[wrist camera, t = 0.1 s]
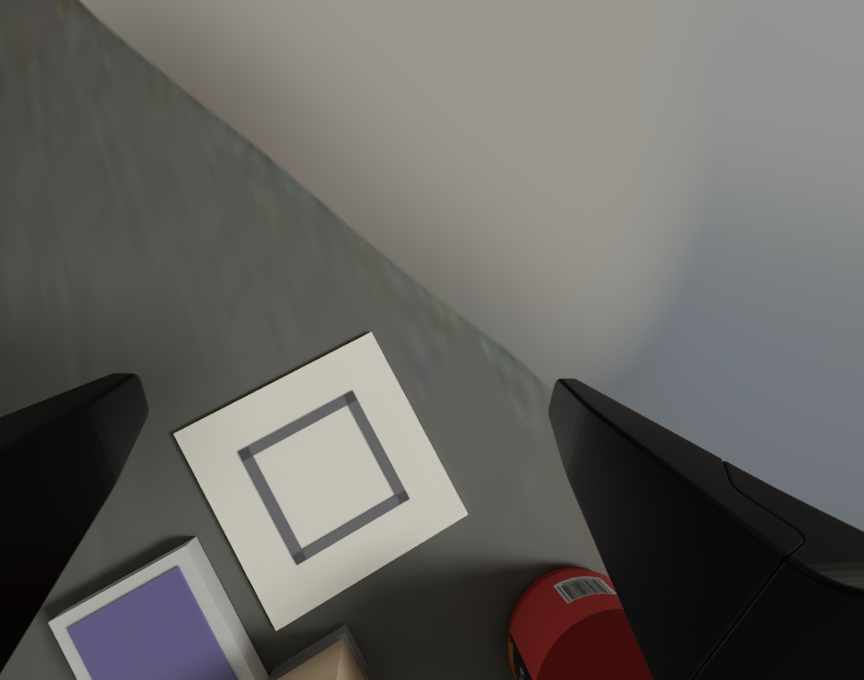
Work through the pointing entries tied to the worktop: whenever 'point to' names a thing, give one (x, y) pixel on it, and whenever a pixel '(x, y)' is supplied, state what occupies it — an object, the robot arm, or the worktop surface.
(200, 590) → the ink pad
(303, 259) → the worktop surface
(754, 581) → the robot arm
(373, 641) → the worktop surface
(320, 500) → the print card
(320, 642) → the stamp
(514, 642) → the canned food
